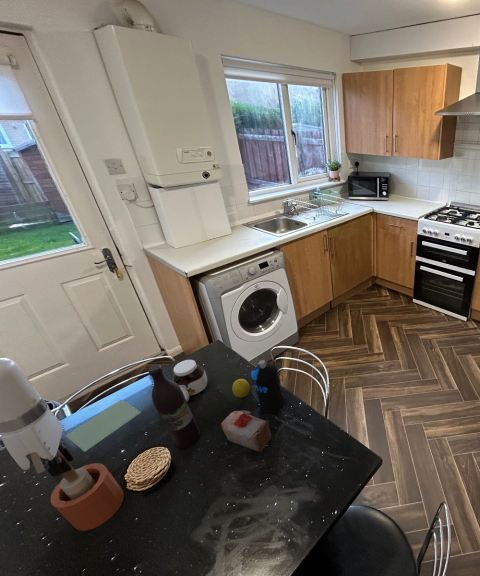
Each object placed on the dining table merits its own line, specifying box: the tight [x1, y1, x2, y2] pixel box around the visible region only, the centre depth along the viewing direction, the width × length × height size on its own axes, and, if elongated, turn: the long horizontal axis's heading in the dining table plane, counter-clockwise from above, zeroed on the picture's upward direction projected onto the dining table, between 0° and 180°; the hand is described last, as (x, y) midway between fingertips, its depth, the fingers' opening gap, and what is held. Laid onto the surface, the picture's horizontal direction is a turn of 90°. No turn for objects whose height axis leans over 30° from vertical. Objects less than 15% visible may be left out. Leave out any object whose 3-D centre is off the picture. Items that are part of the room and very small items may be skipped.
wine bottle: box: [148, 364, 201, 450], centre depth 90 cm, size 7×7×30 cm
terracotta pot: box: [50, 462, 125, 532], centre depth 78 cm, size 10×10×11 cm
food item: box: [220, 409, 272, 453], centre depth 95 cm, size 14×8×10 cm, turn 71°
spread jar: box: [171, 359, 208, 402], centre depth 110 cm, size 12×11×12 cm
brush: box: [57, 450, 95, 500], centre depth 72 cm, size 5×5×15 cm
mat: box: [65, 399, 142, 453], centre depth 102 cm, size 16×12×1 cm
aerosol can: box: [250, 359, 285, 415], centre depth 104 cm, size 8×8×20 cm
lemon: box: [231, 378, 251, 399], centre depth 110 cm, size 6×6×8 cm
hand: (63, 466), depth 71 cm, fingers closed on brush
